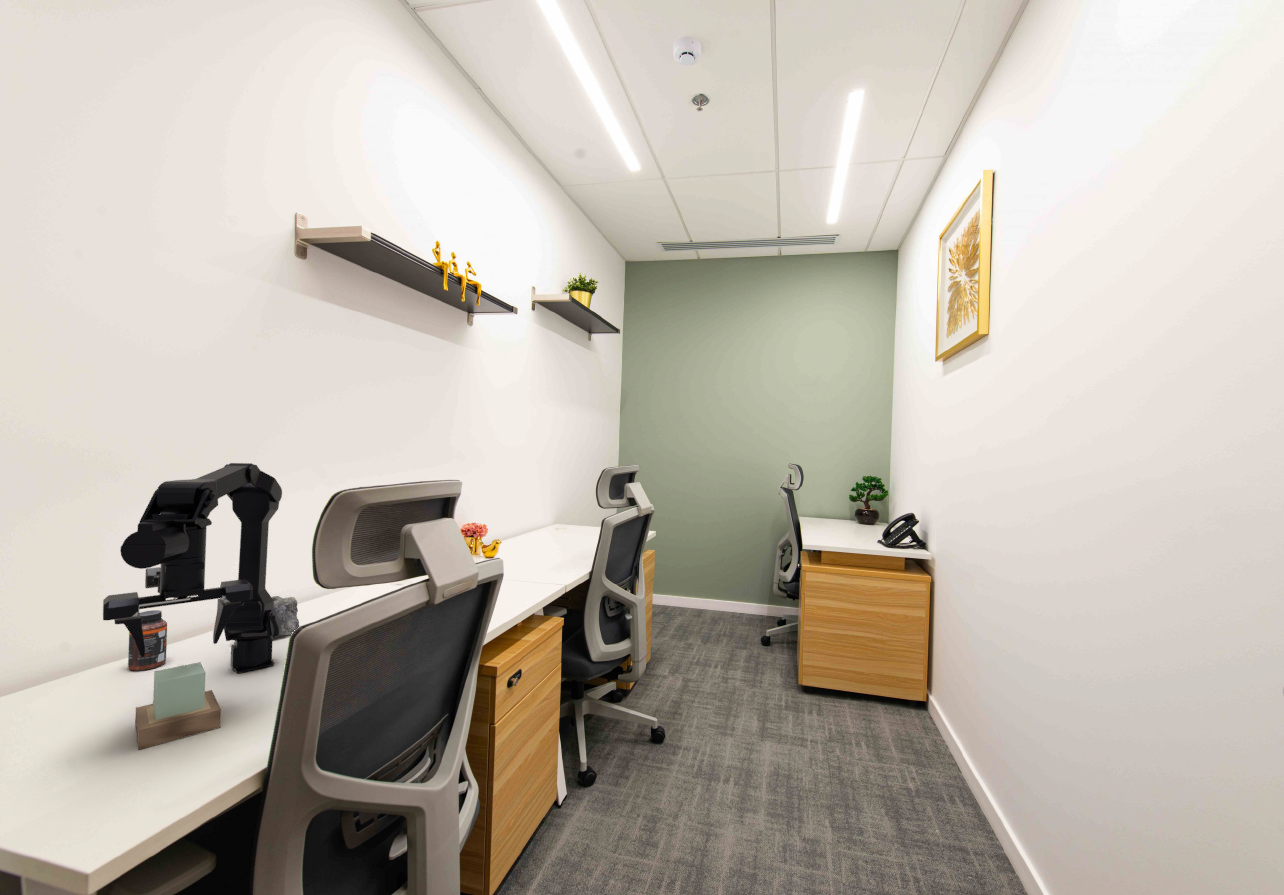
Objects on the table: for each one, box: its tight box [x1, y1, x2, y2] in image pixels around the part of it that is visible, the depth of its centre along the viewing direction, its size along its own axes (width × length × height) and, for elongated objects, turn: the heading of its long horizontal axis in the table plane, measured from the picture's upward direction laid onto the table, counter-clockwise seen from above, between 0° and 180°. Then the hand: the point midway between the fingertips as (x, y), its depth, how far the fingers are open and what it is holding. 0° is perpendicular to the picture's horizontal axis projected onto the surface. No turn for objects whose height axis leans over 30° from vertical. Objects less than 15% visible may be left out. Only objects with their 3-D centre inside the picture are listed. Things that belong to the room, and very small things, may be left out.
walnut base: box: [134, 689, 222, 751], centre depth 90 cm, size 10×10×3 cm
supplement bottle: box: [127, 609, 168, 671], centre depth 114 cm, size 6×6×11 cm
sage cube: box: [152, 661, 206, 720], centre depth 90 cm, size 6×6×6 cm
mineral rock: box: [233, 595, 300, 642], centre depth 132 cm, size 13×11×10 cm
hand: (180, 649), depth 90 cm, fingers open, 9 cm apart
